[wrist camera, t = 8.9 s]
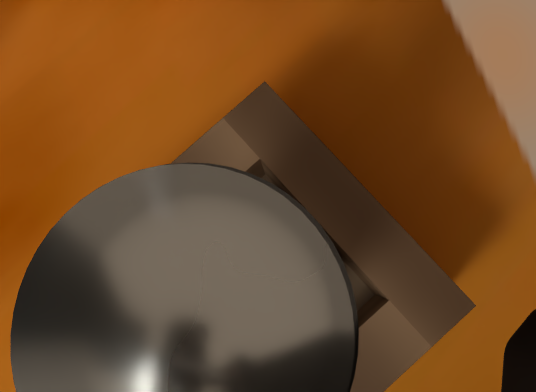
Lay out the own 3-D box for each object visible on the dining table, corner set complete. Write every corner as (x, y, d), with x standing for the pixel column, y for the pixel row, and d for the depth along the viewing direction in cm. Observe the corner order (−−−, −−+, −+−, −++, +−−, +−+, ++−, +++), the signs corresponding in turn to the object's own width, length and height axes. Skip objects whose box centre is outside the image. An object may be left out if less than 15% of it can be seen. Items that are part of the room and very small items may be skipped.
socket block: (249, 474, 19) (236, 527, 15) (89, 275, 21) (39, 277, 17) (440, 297, 20) (475, 305, 16) (271, 115, 21) (265, 81, 17)
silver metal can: (236, 374, 19) (105, 606, 6) (177, 267, 20) (-55, 269, 7) (342, 311, 19) (435, 405, 6) (279, 206, 20) (244, 93, 7)
